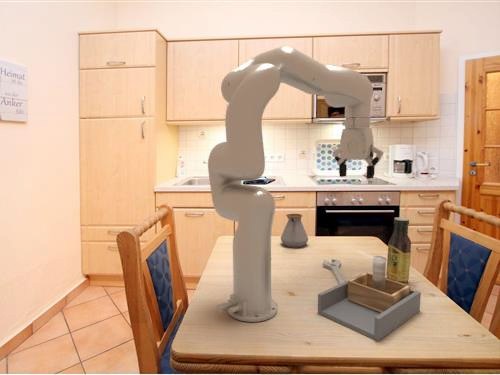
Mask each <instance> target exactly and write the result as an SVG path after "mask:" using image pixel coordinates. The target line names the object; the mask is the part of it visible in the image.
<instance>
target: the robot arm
mask: <svg viewBox="0 0 500 375" xmlns="http://www.w3.org/2000/svg"><path fill="white" fill-rule="evenodd" d="M220 84H221V85H220V91H221V95H222V97H223V99H224V101H226V103H228V105H227V108H226V112H225V119H224V122H225V123H224V125H225V138H226V140H225V141H222V142H220V143H219V142H218V143H217V144H216V145H215V146H214V147H213V148H212V149H211V151H210V153H209V155H208V161H207V171H208V178H209V180H208V181H209V187H210V194H211V201H212V204H213V208H214V210H215V212H216V213H217V214H218V216H220V217H221V218H223V219H226V220H229V221H232V222H236V223H237V226H236V230H235V232H234V235H233V237H232V273H233V274H232V276H233V277H232V282H233V286H232V287H233V288H232V290H233V293H231V294H230V295H229V299H228V300H227V301H225V302H222V303H219V304H218V305H216V308H217V312H219V314H220V313H221V314H222V313H223V312H227V313H228V315H230V317H232V318H234V319H235V320H238V321H241V322H249V323H251V322H253V323H256V322H257V323H258V322H263V321H266V320H269V319H271V318H273V317H274V316H275V315H276V314H277V312H278V304H277V302H276V301H275V300H274V299H272V230H273V222H274V217H275V212H276V201H275V198H274V196H273V195H272V193H271V192H270V191H269V190H267V189H266V188H264V187H261V186H257V185H250V184H249V185H248V184H242V182H251V181H257V180H258V179H260V178H261V177H262V176H263V175H264V172H265V169H266V168H265V167H266V159H265V148H264V138H263V124H262V123H263V122H262V120H263V115H264V112H265V109H266V107H267V106H268V104H269V103H270V101H271V100H272V98H274V97H275V96H276V94H277V92H278V91H279V88H280V85H281V84H286V85H287V86H289V87H292V88H295V89H296V90H299V91H301V92H303V93H305V94H308V95H315V96H316V95H317V96H323V98H324V100H325V102H326V104H327V105H328V106H330V107H332V108H344V107H345V119H344V121H342V123H341V124H342V126H343V127H344V128H343V129H342V131H341V135H340V140H339V141H340V142H339V147H338V148H337V149H335V150H333V151H332V155H333V157H334V161H336V162H337V165H338V166H339V168H338V173H339V177H340V178H341V177H343V178H344V177H347V171H348V170H347V167H348V166H347V164H346V163H347V162H348V161H349V160H351V161H352V160H354V161H355V160H356V161H357V160H359V161H362V160H364V161H365V162H366V163H367V164H368V165H367V166H366V179H368V180H369V179H370V180H371V179H374V176H375V166H376V165H377V164H378V163H379V162H380V161H381V159H382V157H383V155H384V151H383V150H381V149H379V148H377V147H375V144H374V143H375V142H374V134H373V130H372V127H371V107H372V106H371V104H372V103H371V102H372V98H373V93H374V88H373V85H372V83H371V81H370V79H369V78H367V77H366V75H365V74H362V73H360V72H359V71H357V70H354V69H351V68H347V67H341V66H337V65H331V64H324V63H321V62H319V61H317V60H316V59H314V58H312V57H310V56H308V55H307V54H305V53H303V52H302V51H300V50H298V49H296V48H294V47H292V46H285V45H283V46H279V47H276V48H273V49H271V50H267V51H265V52H262V53H259V54H256V56H254V57H252V58H251V59H249V60H247V61H246V62H244V63H243V64H241V65H240V66H238V67H236V68H234V69H233V70H231V71H230V72H228V73H227V74H226V75H225V76H224V78H223V79H222V82H221V83H220ZM374 154H376V156H375V157H374Z"/></svg>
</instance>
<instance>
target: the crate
mask: <svg viewBox="0 0 500 375" xmlns="http://www.w3.org/2000/svg"><path fill="white" fill-rule="evenodd" d="M372 261H373V262H372V273H370V272H365V273H361V274H362V275H361V274H359V275H360V276H359V275H357V276H358V277H357V276H355V277H356V278H354V277H353V278H354V279H352V278H350V279H351V280H350V279H348V280H349V281H348V280H347V281H348V298H347V299H348V300H350V301H353V302H355V303H358V304H360V305H363V306H366V307H368V308H371V309H373V310H376V311H378V312H381V313H382V312H384V311H385V310H387V309H389V308H390V307H392V306H393V305H395V304H396V303H398V302H400V301H401V300H403V299H404V298H406V297H407V296H409V295H410V289H411V285H408V284H407V285H406V284H403V283H399V282H396V281H393V280H390V279H387V277H386V272H387V258H386V257H385V256H382V255H381V256H380V255H375V256H373V258H372Z"/></svg>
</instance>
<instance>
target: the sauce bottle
mask: <svg viewBox="0 0 500 375" xmlns="http://www.w3.org/2000/svg"><path fill="white" fill-rule="evenodd" d="M393 224H394V225H393V232H392V235H391V237H390V239H389V241H388V244H387V258H386V272H385V277H386V279H390V280H393V281H396V282H399V283H403V284H406V285H408V284H409V279H410V269H411V268H410V266H411V257H412V256H411V255H412V249H411V248H412V242H411V239H410V237H409V235H408V234H409V224H410V219H409V218H406V217H400V216H399V217H396V216H395V217H394V218H393Z"/></svg>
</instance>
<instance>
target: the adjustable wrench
mask: <svg viewBox="0 0 500 375" xmlns="http://www.w3.org/2000/svg"><path fill="white" fill-rule="evenodd" d="M341 267H342V260H340V259H335V258H332V260H331V262H329V261H328V260H326V259H324V260H323V261H322V268H325V269H328V270H330V271H331V272H332V273H333V276H334V277H335V280H336V281H337V283H338V284H337V285H339V284H341V283H344V282H346V281H348V280H347V279H346V277H345V276H344V274H343V272H342V270H341V269H340V268H341Z"/></svg>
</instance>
